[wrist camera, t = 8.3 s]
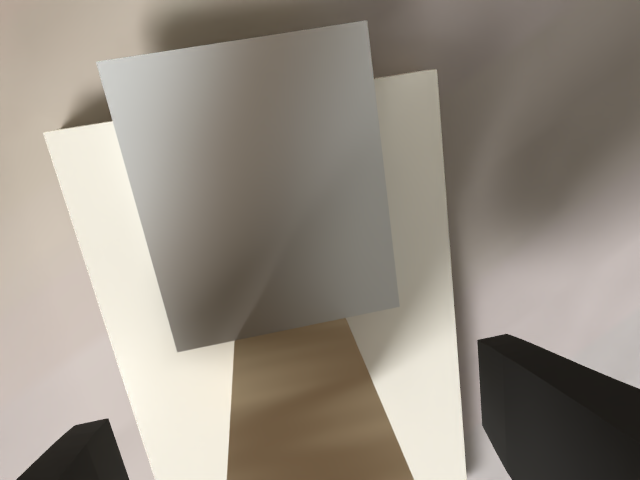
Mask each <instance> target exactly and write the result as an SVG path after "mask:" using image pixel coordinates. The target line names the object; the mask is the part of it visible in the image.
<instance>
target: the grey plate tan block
mask: <svg viewBox="0 0 640 480" xmlns="http://www.w3.org/2000/svg"><path fill="white" fill-rule="evenodd" d="M96 63H97V67H98V71H99V74H100V78H101V81H102V85H103V89H104V92H105V96H106V99H107V103H108V106H109V110H110V114H111V117H112V121H113V124H114V128H115V131H116V135H117V139H118V142H119V146H120V149H121V153H122V157H123V160H124V164H125V167H126V171H127V174H128V178H129V182H130V185H131V189H132V192H133V196H134V199H135V203H136V207H137V210H138V214H139V217H140V221H141V225H142V228H143V232H144V235H145V239H146V242H147V246H148V250H149V253H150V257H151V260H152V264H153V267H154V271H155V275H156V278H157V282H158V285H159V289H160V293H161V296H162V300H163V303H164V307H165V310H166V314H167V318H168V321H169V325H170V328H171V332H172V335H173V339H174V343H175V346H176V350H177V352H182V351H187V350H191V349H196V348H201V347H206V346H211V345H216V344H221V343H226V342H230V341H234V358H233V376H232V394H231V412H230V430H229V447H228V465H227V480H414V478H413V476H412V474H411V471H410V469H409V466H408V464H407V462H406V459H405V457H404V455H403V452H402V450H401V447H400V445H399V443H398V440H397V438H396V436H395V433H394V431H393V429H392V426H391V424H390V421H389V419H388V417H387V414H386V412H385V410H384V407H383V405H382V403H381V400H380V398H379V395H378V393H377V391H376V388H375V386H374V384H373V381H372V379H371V377H370V374H369V372H368V369H367V367H366V365H365V362H364V360H363V358H362V355H361V353H360V351H359V348H358V346H357V343H356V341H355V339H354V336H353V334H352V332H351V329H350V327H349V324H348V322H347V320H346V318H347V317H352V316H357V315H362V314H367V313H372V312H377V311H382V310H386V309H391V308H396V307H400V305H399V296H398V287H397V278H396V270H395V261H394V252H393V243H392V234H391V226H390V217H389V208H388V199H387V190H386V181H385V173H384V164H383V155H382V146H381V137H380V129H379V120H378V111H377V102H376V93H375V84H374V76H373V67H372V58H371V49H370V40H369V32H368V23H367V20H365V21H358V22H352V23H345V24H339V25H332V26H326V27H319V28H313V29H306V30H300V31H293V32H287V33H280V34H274V35H267V36H261V37H254V38H248V39H241V40H235V41H228V42H222V43H215V44H208V45H202V46H195V47H189V48H182V49H176V50H169V51H163V52H156V53H150V54H143V55H137V56H130V57H124V58H117V59H111V60H104V61H98V62H96Z"/></svg>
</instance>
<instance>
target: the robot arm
mask: <svg viewBox="0 0 640 480" xmlns="http://www.w3.org/2000/svg"><path fill="white" fill-rule="evenodd" d="M477 341H478V358H479V376H480V393H481V411H482V426H483V428H484V430H485V432H486V433H487V435H488V437H489V439H490V441H491V443H492V445H493V447H494V449H495V451H496V453H497V455H498V456H499V458H500V460H501V462H502V464H503V466H504V467H505V469H506V471H507V473H508V474H509V476H510V477H511V479H512V480H640V389H638V388H636V387H633V386H631V385H628V384H626V383H623V382H621V381H618V380H616V379H613V378H611V377H608V376H606V375H604V374H601V373H599V372H597V371H594V370H592V369H589V368H587V367H585V366H582V365H580V364H578V363H576V362H573V361H571V360H569V359H566V358H564V357H562V356H559V355H557V354H555V353H553V352H550V351H548V350H546V349H543V348H541V347H539V346H536V345H534V344H532V343H529V342H527V341H524V340H522V339H519V338H517V337H514V336H511V335H508V334H504V335H499V336H495V337H490V338H485V339H480V340H477ZM16 480H129V478H128V475H127V472H126V469H125V466H124V463H123V460H122V457H121V454H120V451H119V449H118V446H117V443H116V440H115V437H114V434H113V431H112V428H111V425H110V422H109V419H103V420H98V421H93V422H89V423H84V424H79V425H75V426H74V427H72V428H71V429H70V430H69V431H68V432H66V433H65V434H64V435H63V436H62V437H61V438H60V439H58V440H57V441H56V442H55V443H54V444H53V445H52V446H51V447H50V448H49V449H48V450H47V451H46V452H45V453H44V454H42V455H41V456H40V457H39V458H38V459H37V460H36V461H35V462H34V463H33V464H32V465H31V466H30V467H29V468H28V469H27V470H26V471H25V472H24V473H23V474H22V475H21V476H20V477H19V478H18V479H16Z"/></svg>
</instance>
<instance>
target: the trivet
mask: <svg viewBox="0 0 640 480" xmlns="http://www.w3.org/2000/svg"><path fill="white" fill-rule="evenodd" d="M374 84H375V93H376V102H377V111H378V120H379V129H380V137H381V146H382V155H383V164H384V173H385V181H386V190H387V199H388V208H389V217H390V226H391V234H392V243H393V252H394V261H395V270H396V278H397V287H398V296H399V305H400V307H396V308H391V309H386V310H382V311H377V312H372V313H367V314H362V315H357V316H352V317H347V318H346V320H347V322H348V324H349V327H350V329H351V332H352V334H353V336H354V339H355V341H356V343H357V346H358V348H359V351H360V353H361V355H362V358H363V360H364V362H365V365H366V367H367V369H368V372H369V374H370V377H371V379H372V381H373V384H374V386H375V388H376V391H377V393H378V395H379V398H380V400H381V403H382V405H383V407H384V410H385V412H386V414H387V417H388V419H389V421H390V424H391V426H392V429H393V431H394V433H395V436H396V438H397V440H398V443H399V445H400V447H401V450H402V452H403V455H404V457H405V459H406V462H407V464H408V466H409V469H410V471H411V474H412V476H413V478H414V480H467V476H466V463H465V449H464V435H463V421H462V407H461V394H460V380H459V366H458V352H457V338H456V324H455V311H454V297H453V283H452V269H451V255H450V241H449V228H448V214H447V200H446V186H445V172H444V158H443V145H442V131H441V117H440V103H439V89H438V75H437V69H432V70H422V71H416V72H410V73H404V74H397V75H391V76H385V77H379V78H374ZM43 134H44V137H45V141H46V144H47V147H48V150H49V153H50V156H51V159H52V162H53V165H54V168H55V172H56V175H57V178H58V181H59V184H60V187H61V190H62V193H63V196H64V199H65V203H66V206H67V209H68V212H69V215H70V218H71V221H72V224H73V227H74V230H75V234H76V237H77V240H78V243H79V246H80V249H81V252H82V255H83V258H84V261H85V265H86V268H87V271H88V274H89V277H90V280H91V283H92V286H93V289H94V292H95V296H96V299H97V302H98V305H99V308H100V311H101V314H102V317H103V320H104V323H105V327H106V330H107V333H108V336H109V339H110V342H111V345H112V348H113V351H114V354H115V357H116V361H117V364H118V367H119V370H120V373H121V376H122V379H123V382H124V385H125V388H126V392H127V395H128V398H129V401H130V404H131V407H132V410H133V413H134V416H135V419H136V423H137V426H138V429H139V432H140V435H141V438H142V441H143V444H144V447H145V450H146V454H147V457H148V460H149V463H150V466H151V469H152V472H153V475H154V478H155V480H227V465H228V447H229V430H230V412H231V394H232V376H233V358H234V341H230V342H226V343H221V344H216V345H211V346H206V347H201V348H196V349H191V350H187V351H182V352H177V350H176V346H175V343H174V339H173V335H172V332H171V328H170V325H169V321H168V318H167V314H166V310H165V307H164V303H163V300H162V296H161V293H160V289H159V285H158V282H157V278H156V275H155V271H154V267H153V264H152V260H151V257H150V253H149V250H148V246H147V242H146V239H145V235H144V232H143V228H142V225H141V221H140V217H139V214H138V210H137V207H136V203H135V199H134V196H133V192H132V189H131V185H130V182H129V178H128V174H127V171H126V167H125V164H124V160H123V157H122V153H121V149H120V146H119V142H118V139H117V135H116V131H115V128H114V124H113V121H106V122H100V123H94V124H87V125H81V126H75V127H69V128H63V129H57V130H53V131H48V132H43Z"/></svg>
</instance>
